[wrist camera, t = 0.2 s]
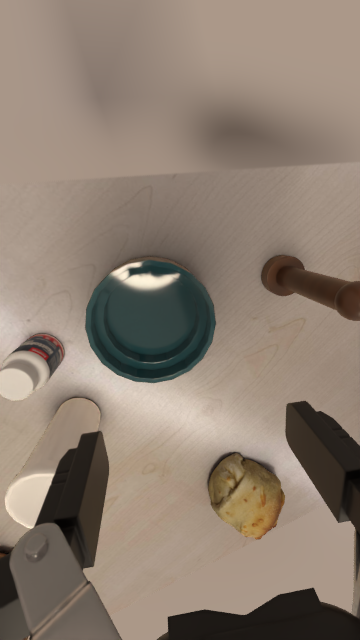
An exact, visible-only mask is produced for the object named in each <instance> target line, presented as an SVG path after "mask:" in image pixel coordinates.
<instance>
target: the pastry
mask: <svg viewBox="0 0 360 640" xmlns="http://www.w3.org/2000/svg"><path fill="white" fill-rule="evenodd" d="M209 481H210V482H209V485H208V491H209V495H210V499H211V506H212V508H213V510H214V511H215V512H216V514H217V515H218V516H219V517H220V518H221V519H222V520H223V521H225V522H226V523H228V524H230V525H231V526H233V527H234V528H235V529H236V530H237V531H239V532H240V533H241V534H242V535H244V536H245V537H253V538H255V539H261V538H262V536H263V535H265V534H266V533H267V532H268V531H270V530H271V529H272V527H273V528H274V527H276V525H277V520H278V516H279V514H280V512H281V509H282V506H283V505H284V500H285V495H284V492H283V491H282V489H281V482H280V480H279V479H278V478H277V477H276V475H274V474H272V473H270V472H269V471H268V470H266V468H264V466H262V465H260V464H259V463H256V462H254V461H251V460H248V459H245V458H242V457H241V455H239V454H238V453H234V454H232V455H230V456H228V457H227V458H225V459H223V460H222V461H221V462H220V463H219V465H218V466H217V467H216V469H215V470H214V471H213V473H212V474H211V476H210V478H209Z"/></svg>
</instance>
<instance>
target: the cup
mask: <svg viewBox="0 0 360 640" xmlns="http://www.w3.org/2000/svg"><path fill="white" fill-rule="evenodd" d="M100 418H101V412H100V411H99V409H98V407H97V405H95V404H94V403H93V402H92V401H90V400H87V399H84V398H73V399H70V400H67V401H65V402H64V403H63V404H62V405H61V406H60V407H59V409H58V411H57V412H56V414H55V416H54V417H53V419H52V420H51V422H50V424H49V425H48V427H47V429H46V430H45V432H44V434H43V435H42V437H41V439H40V440H39V442H38V443H37V445H36V447H35V448H34V450H33V452H32V453H31V455H30V457H29V458H28V460H27V462H26V463H25V465H24V467H23V468H22V470H21V471H20V473H18V474H17V475H16V476H15V478H14V479H13V480H12V482H11V483H10V485H9V487H8V489H7V491H6V494H5V504H6V510H7V511H8V513H9V514H10V515H11V517H12V518H13V519H14V520H15V521H17V522H18V523H20V524H22V525H23V526H25V527H28V528H34V526H35V523H36V521H37V518H38V515H39V513H40V510H41V508H42V505H43V502H44V500H45V497H46V495H47V492H48V490H49V487H50V485H51V482H52V479H53V477H54V475H55V471H56V469H57V466H58V464H59V461H60V459H61V458H62V457H63V456H64V455H65V453H66V452H67V451H68V450H69V449H73V448H77V446H78V443H79V440H80V437H81V435H82V434H83V433H90V432H97V431H98V426H99V422H100Z"/></svg>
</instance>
